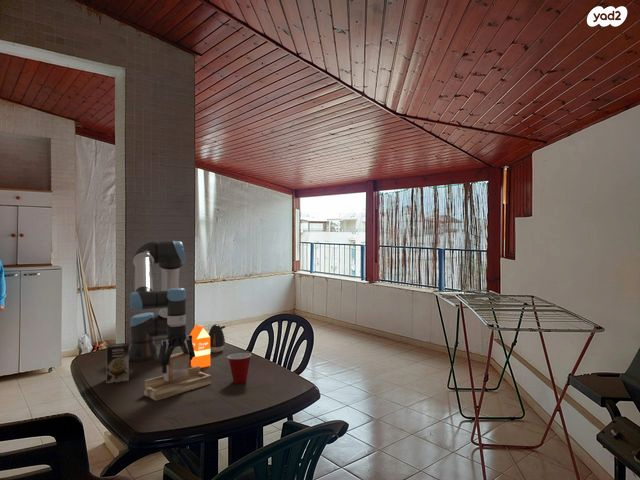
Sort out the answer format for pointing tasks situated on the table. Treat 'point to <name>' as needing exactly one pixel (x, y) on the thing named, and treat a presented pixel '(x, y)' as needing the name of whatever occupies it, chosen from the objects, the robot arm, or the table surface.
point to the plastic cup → (239, 366)
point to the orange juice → (200, 347)
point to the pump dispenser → (216, 338)
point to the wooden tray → (175, 384)
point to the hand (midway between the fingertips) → (176, 377)
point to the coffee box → (117, 363)
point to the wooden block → (179, 367)
